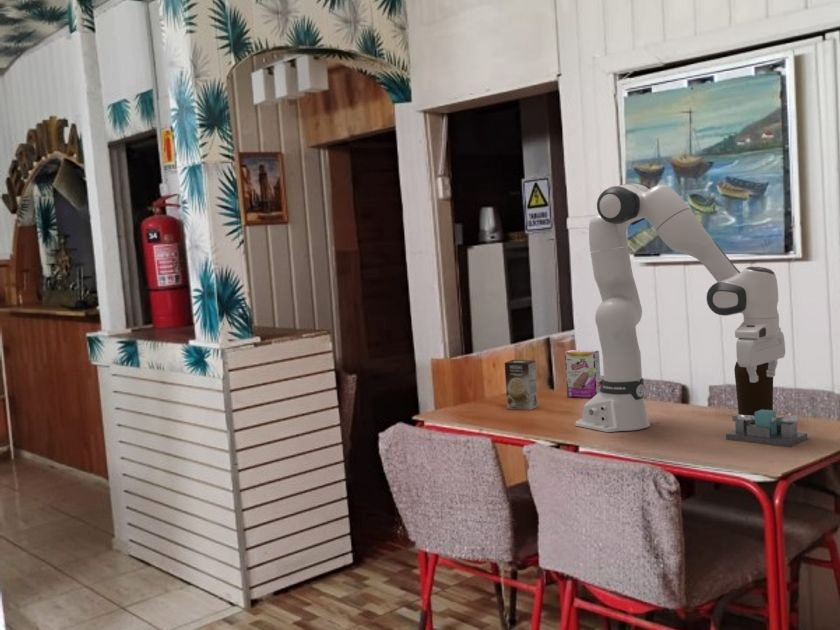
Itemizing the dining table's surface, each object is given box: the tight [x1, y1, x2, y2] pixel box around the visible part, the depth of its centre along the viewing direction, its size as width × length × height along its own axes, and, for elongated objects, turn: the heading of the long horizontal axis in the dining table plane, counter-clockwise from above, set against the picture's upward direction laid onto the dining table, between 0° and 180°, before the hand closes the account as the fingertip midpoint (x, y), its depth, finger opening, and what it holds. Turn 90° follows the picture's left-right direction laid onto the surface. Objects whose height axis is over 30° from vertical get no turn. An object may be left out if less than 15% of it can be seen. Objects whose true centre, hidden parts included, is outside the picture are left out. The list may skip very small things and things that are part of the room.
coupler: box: [754, 409, 777, 435], centre depth 252 cm, size 5×4×6 cm
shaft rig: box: [725, 413, 808, 448], centre depth 252 cm, size 18×10×7 cm, turn 43°
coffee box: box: [504, 359, 539, 411], centre depth 319 cm, size 9×6×16 cm
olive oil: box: [733, 361, 774, 426], centre depth 272 cm, size 11×11×25 cm
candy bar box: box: [564, 349, 602, 399], centre depth 330 cm, size 11×5×16 cm, turn 59°
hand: (762, 379), depth 251 cm, fingers open, 8 cm apart
